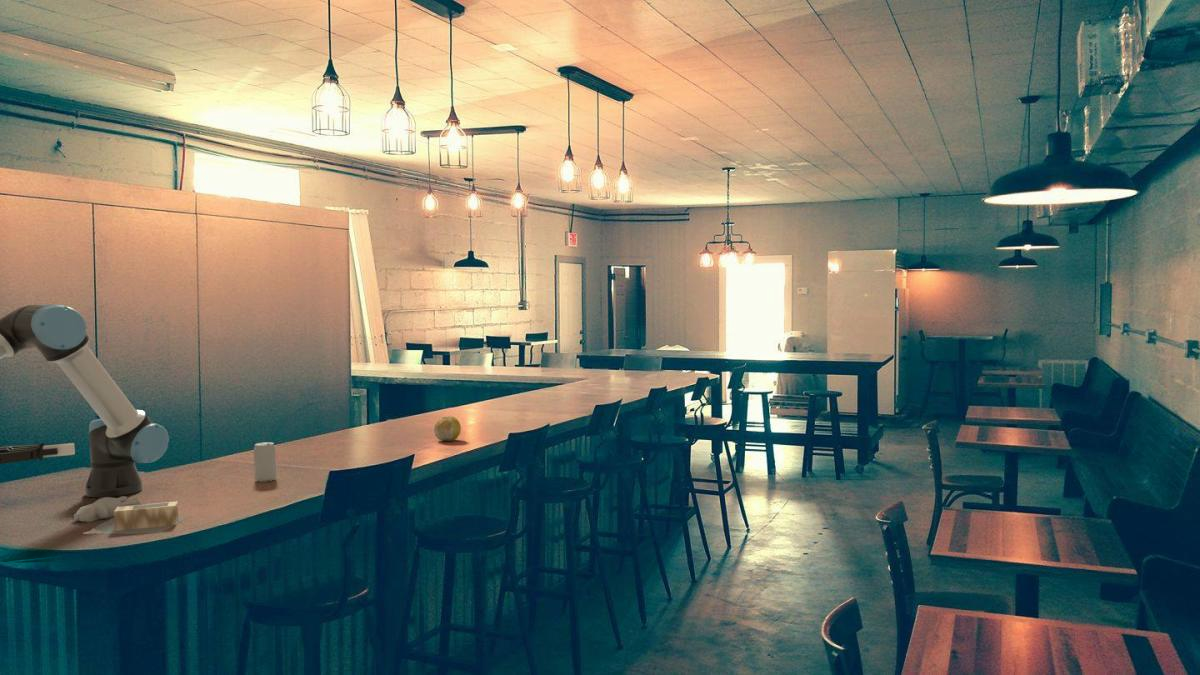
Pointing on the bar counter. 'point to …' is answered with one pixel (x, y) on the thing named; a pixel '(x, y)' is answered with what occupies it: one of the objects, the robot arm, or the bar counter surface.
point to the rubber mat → (110, 529)
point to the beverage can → (264, 462)
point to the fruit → (447, 428)
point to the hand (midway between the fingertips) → (73, 448)
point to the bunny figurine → (102, 508)
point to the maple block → (146, 516)
